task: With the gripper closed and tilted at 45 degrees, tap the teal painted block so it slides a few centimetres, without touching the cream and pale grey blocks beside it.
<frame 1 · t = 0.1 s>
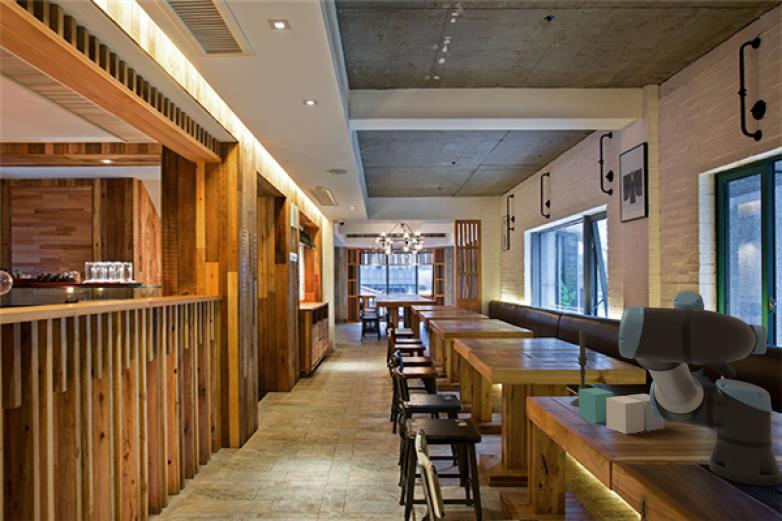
hand: (699, 387, 162), 15 cm above the table, fingers open, 13 cm apart
cream block: (625, 429, 167), on the table
teal block: (595, 419, 179), on the table
grey block: (645, 426, 171), on the table
candlestick holder: (582, 405, 199), on the table
toy: (703, 422, 177), on the table
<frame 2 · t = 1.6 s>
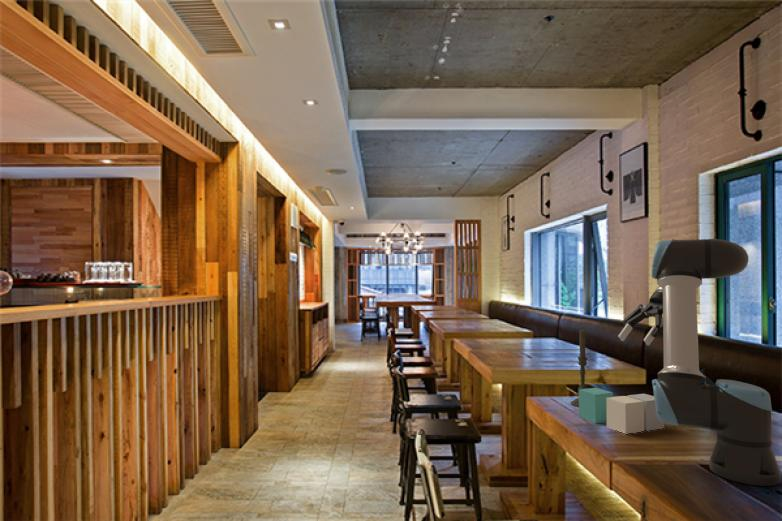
hand: (633, 340, 184), 27 cm above the table, fingers open, 11 cm apart
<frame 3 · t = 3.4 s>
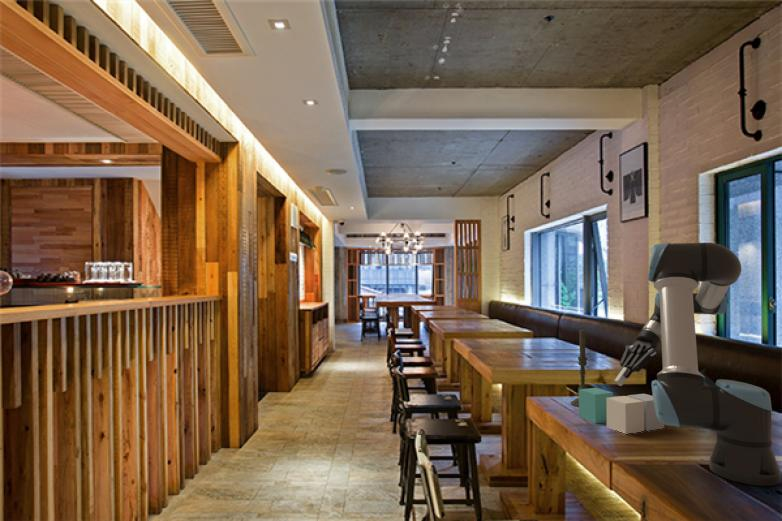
hand: (617, 383, 184), 12 cm above the table, fingers closed
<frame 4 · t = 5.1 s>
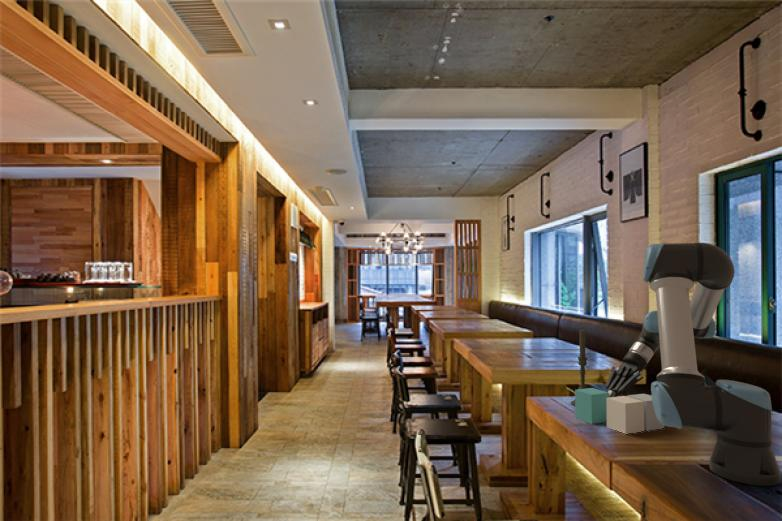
hand: (603, 406, 181), 4 cm above the table, fingers closed
teal block: (592, 419, 179), on the table, touching gripper
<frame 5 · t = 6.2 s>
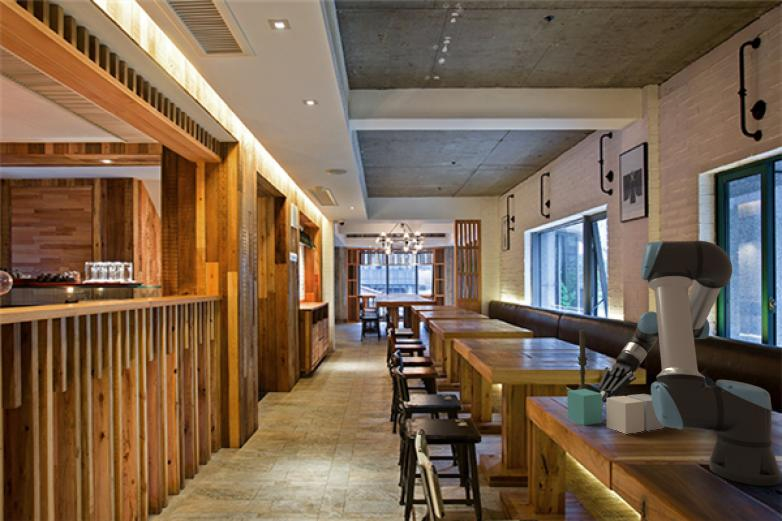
hand: (596, 407, 180), 4 cm above the table, fingers closed
teal block: (584, 420, 177), on the table
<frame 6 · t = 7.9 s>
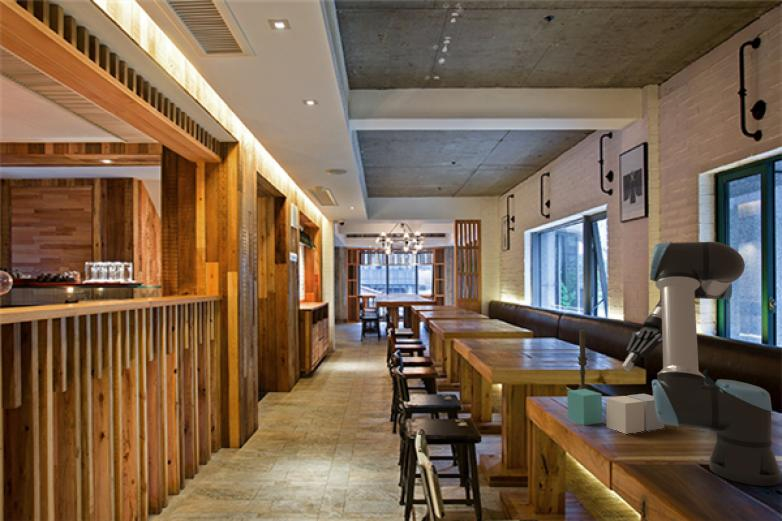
hand: (625, 368, 184), 17 cm above the table, fingers closed
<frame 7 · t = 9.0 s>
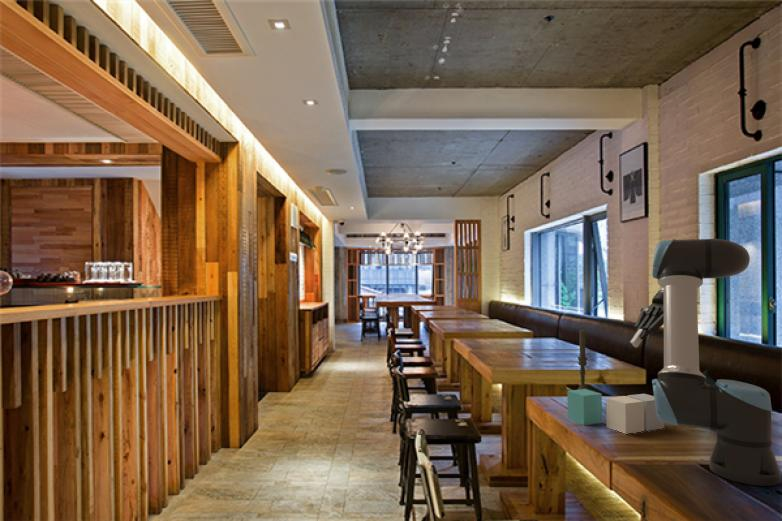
hand: (633, 344, 183), 26 cm above the table, fingers closed
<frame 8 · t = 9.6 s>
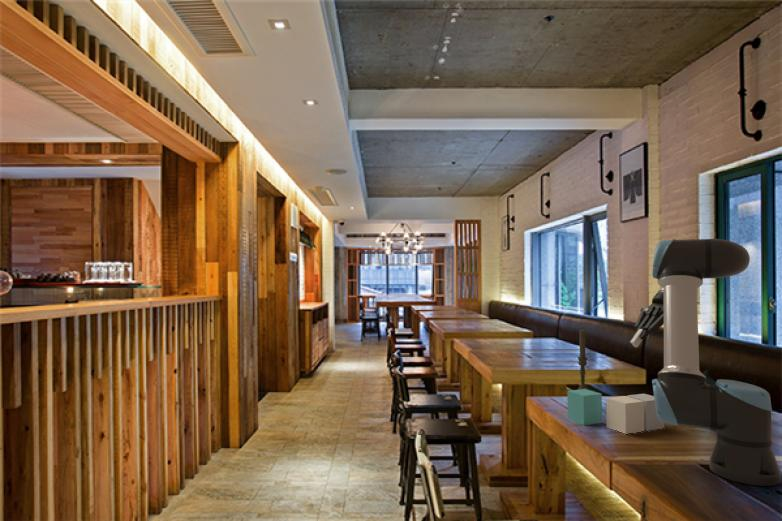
hand: (633, 344, 183), 26 cm above the table, fingers closed
at the end: teal block inside the target area (1.3 cm from its centre), on the table; cream block moved 0.1 cm from its start; grey block moved 0.1 cm from its start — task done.
